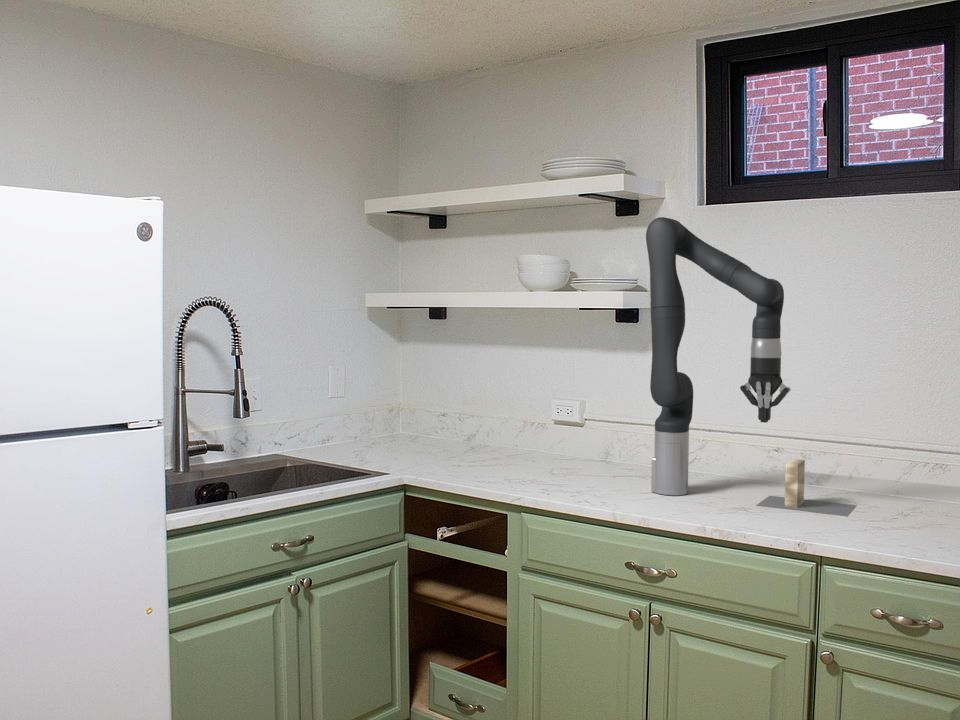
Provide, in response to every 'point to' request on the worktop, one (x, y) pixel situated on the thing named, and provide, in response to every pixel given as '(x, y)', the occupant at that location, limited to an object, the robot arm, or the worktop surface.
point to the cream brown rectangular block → (794, 483)
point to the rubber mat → (809, 506)
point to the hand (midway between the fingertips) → (764, 422)
